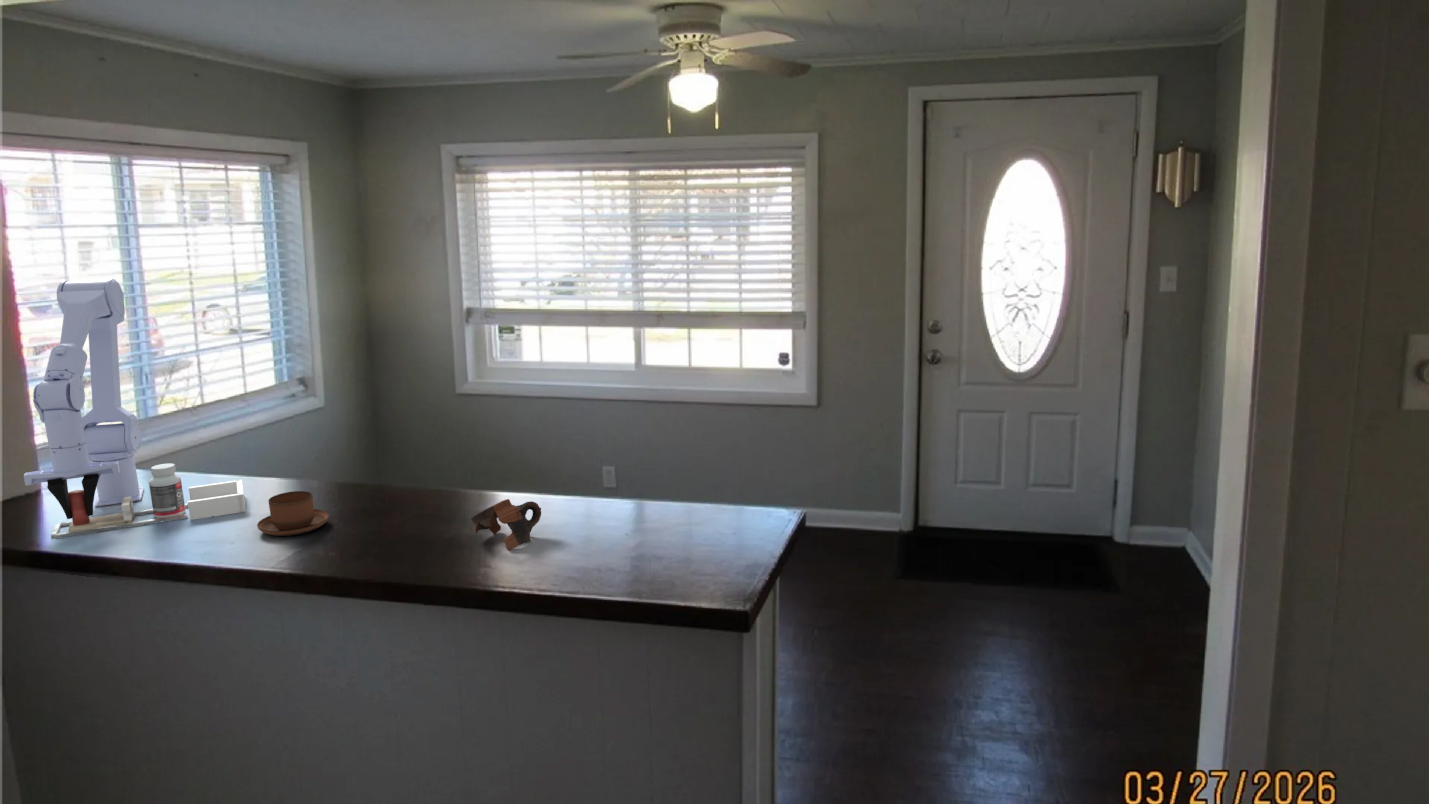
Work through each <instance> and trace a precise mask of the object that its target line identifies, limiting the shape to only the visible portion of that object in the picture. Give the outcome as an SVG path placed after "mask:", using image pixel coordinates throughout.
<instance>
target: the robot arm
mask: <svg viewBox="0 0 1429 804" xmlns="http://www.w3.org/2000/svg"><path fill="white" fill-rule="evenodd" d="M56 301H57V303H58V306H59V308H60V310H61V313H62V314H63V317H62V318H63V319H62V326H61V334H60V341H59V342H60V343H59V344H58V345H55V346H54V347H53V348H52V349H51V351H50V354H49V357H48V361H47V365H46V369H45V372H44V377H43V380H41V382H39V383H37V384H36V385H35V386H34V388H33V393H32V394H33V395H32V397H33V399H32V401H33V405H34V408H35V410H36V411H37V412H38V415H39V420H40V422H41V423H44V426H45V427H44V428H45V432H46V433H45V434H46V437H47V438H46V439H47V444H48V449H49V454H50V455H49V456H50V461H51V465H52V467H51V468H46V469H41V470H35V471H29V472H25V473H24V474H23V480H24V484H25V486H31V485H34V484H42V483H47V486H46V488H47V489H48V491H49V492H50V493H51V494H52V495H53V497H55V499H56V500H57V502H58V503H59V505H60V506H61V509H62V510H63V513H64V514H65V517H66V519H67V520H71V519H72V515H71V509H70V504H69V498H68V493H69V487H68V480H71V479H79V478H82V479H81V486H82V490H84V494H85V498H86V508H87V515H88V516H89V517H92V516H93V515H94V507H102V506H110V505H117V504H122V502H123V499H124V497H130V496H131V499H132V502H138V501H142V499H143V494H144V489H145V487H144V485H143V486H139V485H140V484H139V478H138V474H137V473H138V472H137V466H136V461H135V454H136V453H137V452H138V451H139V450H140V449H141V446H142V433H141V429H140V426H139V419H138V417H137V416H136V415H135V414H134V413H132V412H130V411H129V410H128V409H126V408H124V407H123V406H122V398H121V396H122V395H121V381H120V380H121V379H120V362H119V361H120V359H119V343H118V342H119V341H118V325H119V324H121V323H122V322H124V321H125V311H126V310H125V294H124V291H123V290H122V287H121V285H120V283H119V282H118V281H117V280H116V279H114V278H108V279H93V280H71V281H70V280H62V281H60V283H59V284H58V286H57V289H56ZM87 337H88V349H89V350H88V351H89V366H90V367H89V369H90V385H91V387H90V388H91V403H92V405H91V406H92V407H91V408H92V409H91V410H90V411H88V412H87V413H85V414H84V415H83V414H82V411H81V410H82V409H83V407H84V405H85V401H86V394H85V382H84V381H83V377H84V373H85V369H86V365H87V361H88V354H87V352H86V351H85V350H84V345H85V344H86V340H87ZM116 422H117V423H116ZM118 422H121V423H118ZM103 423H109V424H103ZM90 461H91V462H90ZM96 490H97V491H96ZM96 493H97V498H96V500H95V494H96ZM94 500H95V503H94Z"/></svg>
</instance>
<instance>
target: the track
mask: <svg viewBox="0 0 1429 804" xmlns="http://www.w3.org/2000/svg"><path fill="white" fill-rule="evenodd" d="M184 504H185V509H188V508H187V507H188V503H184ZM148 513H149V514H154V512H153V508H151V509H150V508H149V509H143V510H136V511H134V517H135V516H141V515H142V514H143V515H147V514H148ZM149 514H148V515H149ZM143 515H142V516H143ZM177 519H180V520H185V519H188V514H187V513H184V514H183V515H178V516H171V517H165V518H153V519H144V520H139V521H133V522H132V523H125V524H119V525H112V526H105V527H99V528H92V529H86V530H79V531H72V532H69V531H67V532H60V530H61V528H63V527H67V526H70V524H71V522H72V520H68V521H61V522H60V523H56V524H55V525H54V527H53V529H52V531H51V534H50V538H52V539H54V538H55V539H62V538H68V537H74V536H75V537H76V536H82V535H87V534H95V533H100V532H107V531H115V530H121V529H126V528H134V527H140V526H139V525H141V526H144V525H143V524H147V525H153V524H152V523H154V524H156V523H155V522H160V523H162V522H161V521H167V522H171V521H172V520H173V521H178V520H177ZM59 532H60V533H59Z"/></svg>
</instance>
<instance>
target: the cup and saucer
mask: <svg viewBox="0 0 1429 804" xmlns="http://www.w3.org/2000/svg"><path fill="white" fill-rule="evenodd" d="M267 502H268V506H269V513H270V515H268V516H266V517H264V518H262V519H261V520H259V521H258V522H257V523H256V524H257V525H256V527H257V529H258V530H259V531H260V532H261V533H263V534H266V535H269V536H276V537H277V536H279V537H281V536H282V537H286V536H287V537H288V536H295V535H301V534H305V533H308V532H311V531H314V530H316V529H318V528H320V527H322V526H323V525H324V524H325V523H326V522H327V521H328V520H329V516H330V514H329V513H328V512H327V511H325V510H322V509H319V508H318V509H317V508H315V507H314V498H313V493H312V492H309V491H306V490H298V491H297V490H296V491H295V490H294V491H287V492H281V493H278V494H276V495H275V494H274V495H273V496H272V497H270V498H269V499H268V501H267Z"/></svg>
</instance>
